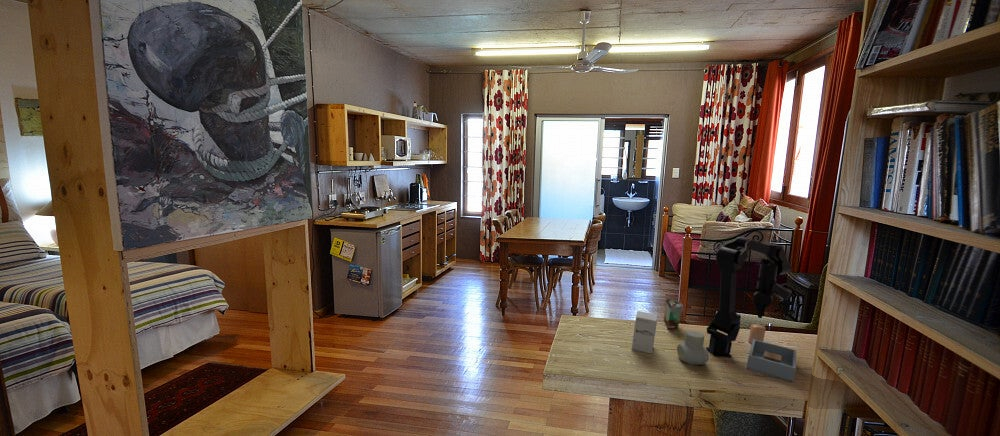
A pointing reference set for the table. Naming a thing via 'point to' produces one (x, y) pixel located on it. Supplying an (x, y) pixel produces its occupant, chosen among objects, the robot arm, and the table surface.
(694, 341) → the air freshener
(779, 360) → the walnut cube
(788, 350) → the tote
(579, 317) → the table surface
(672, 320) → the food container
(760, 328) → the terracotta capsule
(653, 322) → the supplement box
